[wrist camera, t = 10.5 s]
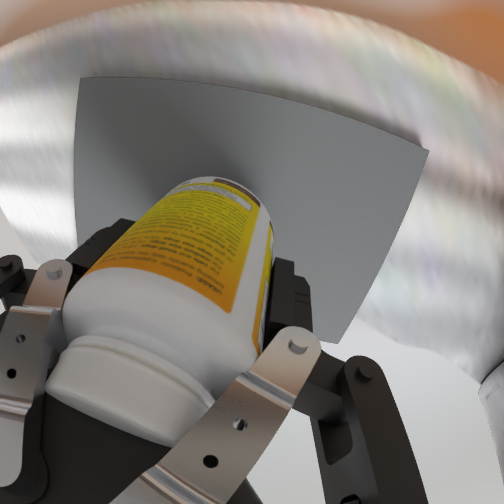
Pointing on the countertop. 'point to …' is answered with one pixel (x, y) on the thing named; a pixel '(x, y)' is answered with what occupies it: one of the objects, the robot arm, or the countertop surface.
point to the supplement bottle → (169, 312)
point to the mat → (251, 174)
